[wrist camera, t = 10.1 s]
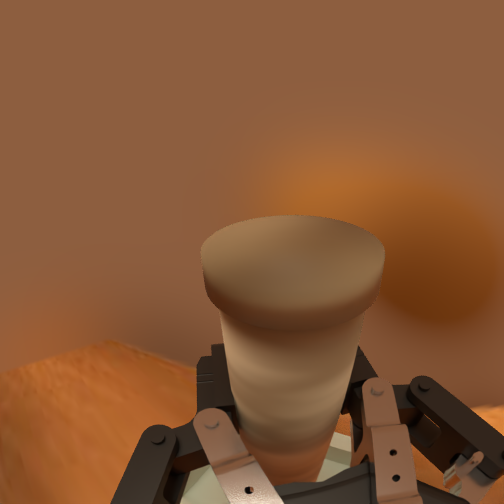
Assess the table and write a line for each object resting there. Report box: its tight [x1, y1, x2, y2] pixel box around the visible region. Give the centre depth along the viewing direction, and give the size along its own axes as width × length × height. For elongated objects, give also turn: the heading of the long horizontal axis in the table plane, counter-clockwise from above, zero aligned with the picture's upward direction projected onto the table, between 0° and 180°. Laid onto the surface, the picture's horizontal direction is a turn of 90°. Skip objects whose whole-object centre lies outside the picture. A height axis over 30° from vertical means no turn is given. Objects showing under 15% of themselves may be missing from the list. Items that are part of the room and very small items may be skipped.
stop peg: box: [201, 215, 385, 486], centre depth 11 cm, size 5×5×15 cm
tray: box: [180, 432, 352, 504], centre depth 19 cm, size 16×14×4 cm
